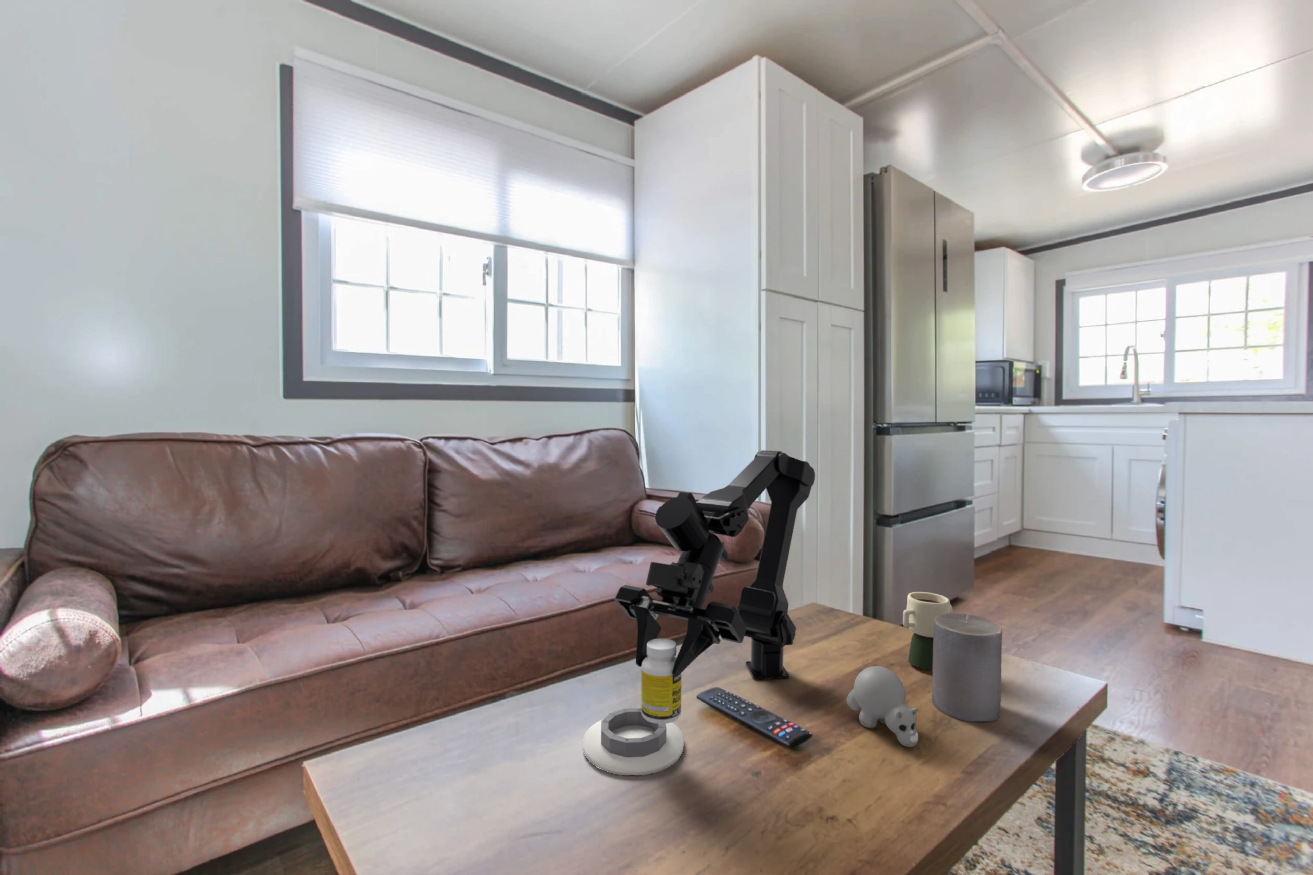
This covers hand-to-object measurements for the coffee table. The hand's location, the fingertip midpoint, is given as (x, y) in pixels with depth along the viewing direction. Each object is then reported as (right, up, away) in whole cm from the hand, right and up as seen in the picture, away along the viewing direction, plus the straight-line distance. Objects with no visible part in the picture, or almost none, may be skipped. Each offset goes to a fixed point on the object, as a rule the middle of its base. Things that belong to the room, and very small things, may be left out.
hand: (655, 670), depth 78 cm
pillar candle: (+49, -12, +15) cm, 53 cm away
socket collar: (-3, -12, +4) cm, 13 cm away
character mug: (+50, -12, +31) cm, 60 cm away
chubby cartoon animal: (+34, -12, +8) cm, 37 cm away
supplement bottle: (+1, -7, +1) cm, 7 cm away
